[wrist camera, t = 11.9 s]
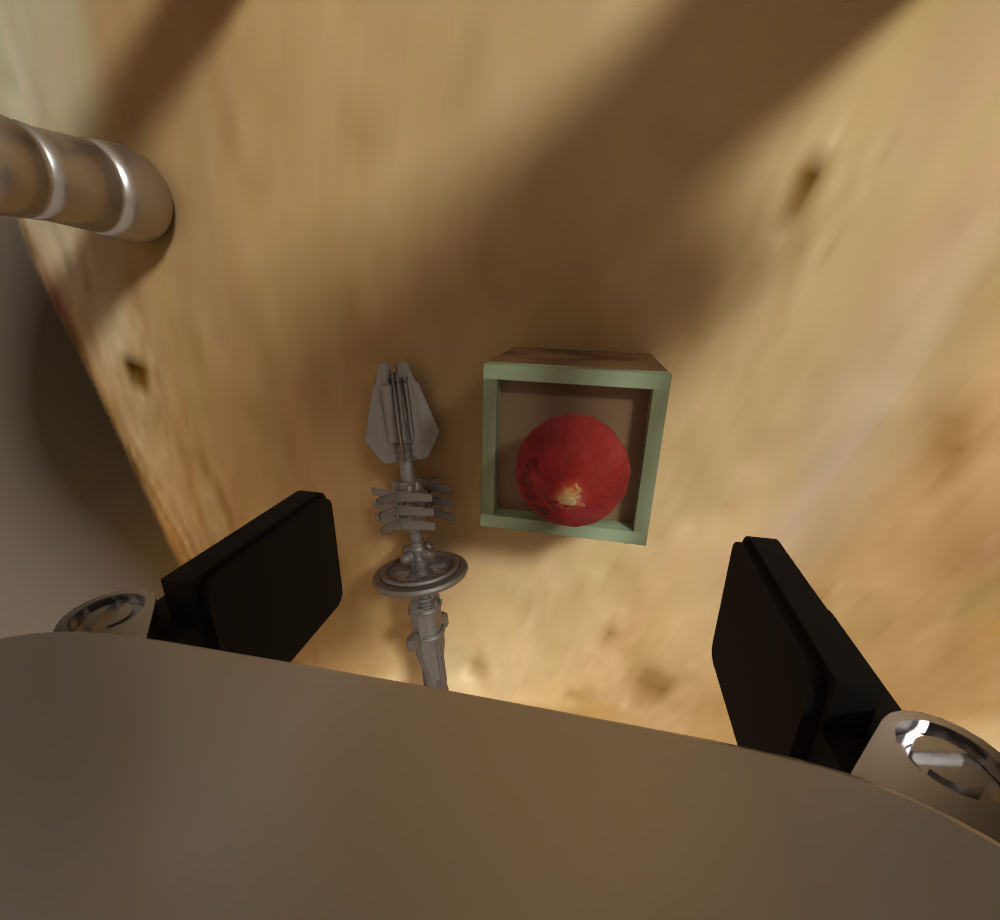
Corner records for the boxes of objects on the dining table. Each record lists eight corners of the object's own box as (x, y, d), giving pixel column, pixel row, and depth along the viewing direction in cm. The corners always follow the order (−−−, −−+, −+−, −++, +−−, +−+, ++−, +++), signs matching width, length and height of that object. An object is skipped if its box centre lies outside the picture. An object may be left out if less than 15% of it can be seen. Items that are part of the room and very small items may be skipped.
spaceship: (382, 766, 41) (450, 807, 37) (316, 369, 34) (389, 360, 30) (441, 709, 48) (504, 738, 43) (395, 363, 41) (465, 355, 36)
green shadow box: (650, 354, 33) (671, 375, 24) (632, 491, 37) (643, 557, 28) (514, 347, 35) (483, 364, 26) (508, 479, 39) (480, 536, 29)
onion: (562, 511, 29) (551, 583, 22) (506, 438, 28) (474, 486, 21) (644, 461, 27) (663, 521, 20) (587, 380, 26) (583, 412, 19)
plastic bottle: (134, 252, 39) (-288, 209, 20) (103, 161, 37) (-397, 20, 18) (197, 238, 37) (-195, 177, 19) (168, 142, 35) (-304, -31, 17)
